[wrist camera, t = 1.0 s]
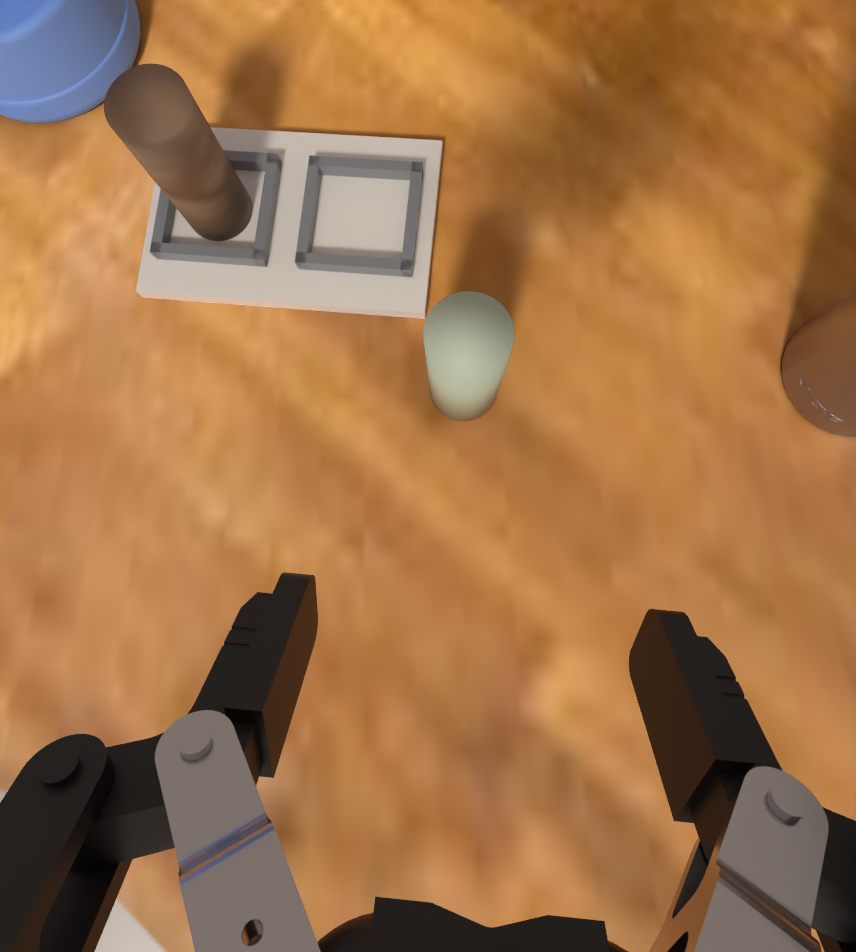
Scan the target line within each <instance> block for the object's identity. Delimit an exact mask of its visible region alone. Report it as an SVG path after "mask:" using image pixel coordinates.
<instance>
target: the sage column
mask: <svg viewBox="0 0 856 952" xmlns="http://www.w3.org/2000/svg"><path fill="white" fill-rule="evenodd" d="M423 335H424V346H425V354H426V363H427V371H428V379H429V388H430V395H431V398H432V401H433V403H434V405H435V407H436V408H437V409H438V410H439V411H440V412H441V413H442V414H443V415H445V416H446V417H448V418H451V419H453V420H457V421H470V420H474V419H477V418H479V417H481V416H482V415H484V414H485V413H486V412H487V411H488V410H489V409H490V408H491V407H492V405H493V404H494V402H495V399H496V396H497V393H498V390H499V387H500V384H501V381H502V378H503V375H504V372H505V369H506V365H507V362H508V359H509V356H510V353H511V350H512V347H513V343H514V326H513V322H512V319H511V317H510V315H509V313H508V311H507V310H506V308H505V307H504V306H503V305H502V304H501V303H500V302H499V301H497V300H496V299H494V298H493V297H491V296H489V295H487V294H484V293H480V292H475V291H463V292H458V293H454V294H452V295H449V296H447V297H445V298H444V299H442V300H441V301H440V302H438V303H437V304H436V305H435V306H434V308H433V309H432V310H431V311H430V313H429V315H428V317H427V319H426V322H425V326H424V332H423Z"/></svg>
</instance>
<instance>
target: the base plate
mask: <svg viewBox="0 0 856 952" xmlns="http://www.w3.org/2000/svg"><path fill="white" fill-rule="evenodd" d="M210 128H211V130H212V131H213V133H214V135H215V137H216V138H217V140H218V142H219V144H220V145H221V147H222V149H223V151H224V152H225V154H226V156H227V158H228V159H229V161H230V163H231V165H232V166H233V168H234V170H235V172H236V173H237V175H238V177H239V179H240V180H241V182H242V184H243V186H244V187H245V189H246V191H247V193H248V194H249V196H250V198H251V201H252V207H253V211H252V217H251V220H250V222H249V224H248V225H247V227H246V228H245V229H244V230H243V231H242V232H241V233H240V234H239V235H237V236H236V237H234V238H232V239H229V240H225V241H211V240H207V239H205V238H203V237H201V236H200V235H198V234H197V233H196V232H195V231H194V229H193V228H192V227H191V226H190V224H189V223H188V222H187V221H186V219H185V218H184V217H183V216H182V214H181V213H180V212H179V211H178V209H177V208H176V207H175V206H174V204H173V203H172V202H171V201H170V200H169V198H168V197H167V196H166V195H165V193H164V192H163V191H162V190H161V188H160V187H159V186H158V185H157V183H156V182H155V186H154V192H153V197H152V203H151V208H150V214H149V220H148V225H147V231H146V237H145V242H144V248H143V254H142V259H141V265H140V271H139V276H138V282H137V288H136V292H137V293H138V294H140V295H141V296H142V297H143V298H156V299H169V300H183V301H196V302H209V303H222V304H236V305H249V306H262V307H275V308H289V309H302V310H315V311H328V312H342V313H355V314H368V315H382V316H395V317H408V318H421V319H425V317H426V307H427V298H428V288H429V278H430V268H431V258H432V249H433V239H434V229H435V219H436V209H437V200H438V190H439V180H440V170H441V160H442V151H443V148H442V140H424V139H407V138H390V137H372V136H355V135H338V134H320V133H303V132H286V131H268V130H251V129H234V128H216V127H210Z"/></svg>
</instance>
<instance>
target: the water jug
mask: <svg viewBox="0 0 856 952" xmlns="http://www.w3.org/2000/svg"><path fill="white" fill-rule="evenodd" d="M139 42H140V18H139V12H138V8H137V5H136V2H135V0H0V115H2V116H4V117H7V118H10V119H13V120H17V121H22V122H29V123H51V122H58V121H63V120H67V119H70V118H73V117H76V116H79V115H81V114H83V113H85V112H87V111H89V110H91V109H93V108H95V107H96V106H98V105H99V104H101V103H102V102H103V101H105V96H106V94H107V91H108V89H109V87H110V86H111V84H112V83H113V81H114V80H115V79H116V78H117V77H118V76H119V75H121V74H122V73H123V72H125V71H126V70H128V69H130V68H132V66H133V63H134V61H135V58H136V55H137V52H138V48H139Z"/></svg>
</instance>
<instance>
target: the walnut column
mask: <svg viewBox="0 0 856 952" xmlns="http://www.w3.org/2000/svg"><path fill="white" fill-rule="evenodd" d="M104 112H105V117H106V119H107V121H108V123H109V125H110V126H111V128H112V129H113V130H114V131H115V133H116V134H117V135H118V136H119V138H120V139H121V140H122V141H123V143H124V144H125V145H126V146H127V148H128V149H129V150H130V151H131V152H132V154H133V155H134V156H135V157H136V159H137V160H138V161H139V162H140V164H141V165H142V166H143V167H144V169H145V170H146V171H147V172H148V174H149V175H150V176H151V177H152V178H153V180H154V181H155V182H156V183H157V185H158V186H159V187H160V188H161V190H162V191H163V192H164V193H165V195H166V196H167V197H168V198H169V200H170V201H171V202H172V203H173V204H174V206H175V207H176V208H177V209H178V211H179V212H180V213H181V214H182V216H183V217H184V218H185V219H186V221H187V222H188V223H189V224H190V226H191V227H192V228H193V229H194V231H195V232H196V233H197V234H198V235H200V236H201V237H203V238H205V239H207V240H211V241H225V240H229V239H232V238H234V237H236V236H237V235H239V234H240V233H241V232H242V231H243V230H244V229H245V228H246V227H247V225H248V224H249V222H250V220H251V217H252V211H253V207H252V201H251V198H250V196H249V194H248V193H247V191H246V189H245V187H244V186H243V184H242V182H241V180H240V179H239V177H238V175H237V173H236V172H235V170H234V168H233V166H232V165H231V163H230V161H229V159H228V158H227V156H226V154H225V152H224V151H223V149H222V147H221V145H220V144H219V142H218V140H217V138H216V137H215V135H214V133H213V131H212V130H211V128H210V126H209V124H208V123H207V121H206V119H205V117H204V116H203V114H202V112H201V110H200V108H199V107H198V105H197V103H196V101H195V100H194V98H193V96H192V94H191V93H190V91H189V89H188V87H187V86H186V84H185V82H184V81H183V79H182V78H181V77H180V75H179V74H178V73H176V72H175V71H174V70H172V69H170V68H168V67H166V66H163V65H159V64H143V65H138V66H135V67H133V68H130V69H128V70H126V71H125V72H123V73H122V74H121V75H119V76H118V77H117V78H116V79H115V80H114V81H113V83H112V84H111V86H110V87H109V89H108V91H107V94H106V96H105V101H104Z"/></svg>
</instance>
